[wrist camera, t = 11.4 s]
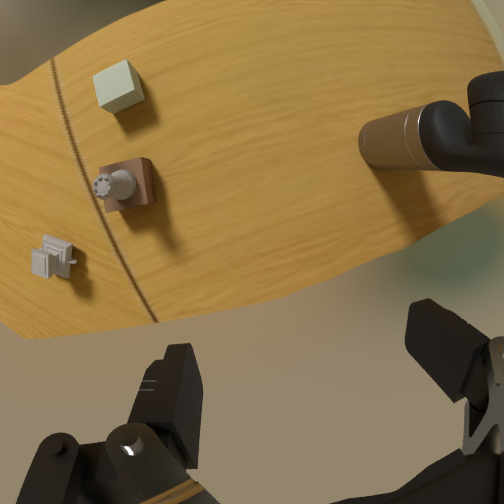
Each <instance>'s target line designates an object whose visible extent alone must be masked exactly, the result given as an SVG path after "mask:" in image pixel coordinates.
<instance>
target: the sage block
mask: <svg viewBox="0 0 504 504" xmlns="http://www.w3.org/2000/svg"><path fill="white" fill-rule="evenodd" d="M93 81H94V85H95V90H96V94H97V99H98V103H99V107H101V108H103V109H105V110H106V111H108V112H110V113H112V114H115V113H117V112H119V111H121V110H123V109H125V108H127V107H129V106H131V105H134V104H136V103H138V102H140V101H142V100H145V97H144V94H143V90H142V87H141V83H140V80H139V76H138V73H137V71H136V69H135V68H134V67H133V66H132V65H131V64H130V62H129V61H128V60H127V59H125V60H123V61H121V62H119V63H117V64H115V65H113V66H111V67H109V68H107V69H105V70H103V71H101V72H100V73H98V74H96V75H94V76H93Z"/></svg>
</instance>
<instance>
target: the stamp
mask: <svg viewBox="0 0 504 504" xmlns="http://www.w3.org/2000/svg"><path fill="white" fill-rule="evenodd" d="M72 247H73V244H72V243H70V242H67V241H64V240H61V239H59V238H56V237H53V236H50V235H48V234H45V235H44V236H43V243H42V248H40V249H32V273H33V274H36V275H39V276H42V277H45V278H48V279H49V278H50V277H52V275H53V273H54V274H56V275H59V276H61V277H64V278H67V279H68V278H69V277H70V265H71V264H76V263H77V260H75V259H73V258H71V256H72Z"/></svg>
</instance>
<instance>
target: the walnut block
mask: <svg viewBox="0 0 504 504" xmlns="http://www.w3.org/2000/svg"><path fill="white" fill-rule="evenodd" d="M99 170H100V175H101V174H103V173H105V174H109V175H111V174H112V173H113V172H115V171H118V170H127V171H129V172H131V173H132V174H133V175H134V177H135V180H136V189H135V191H134V193H133V194H132V195H131V196H130V197H129V198H127V199H125V200H116V199H115V198H113V197H110V198H108V199H104V204H105V210H106V213H108V212H112V211H117V210H122V209H126V208H131V207H136V206H141V205H146V204H150V203H153V202H156V198H155V192H154V185H153V178H152V171H151V164H150V159H147V158H143V157H139V158H135V159H131V160H127V161H123V162H119V163H115V164H111V165H107V166H104V167H100V168H99Z"/></svg>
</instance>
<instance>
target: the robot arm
mask: <svg viewBox="0 0 504 504" xmlns="http://www.w3.org/2000/svg"><path fill="white" fill-rule="evenodd" d="M467 95H468V104H469V110H470V118H471V120H470V118H469V117H468V115H467V114H466V112H465V111H464V110H463V109H462V108H461V107H460V106H458V105H457V104H455V103H453V102H451V101H445V100H442V101H437V102H433V103H430V104H426V105H422V106H419V107H416V108H412V109H409V110H405V111H402V112H398V113H395V114H392V115H389V116H385V117H382V118H379V119H376V120H373V121H370V122H368V123H366V124H365V125H364V126H363V128H362V129H361V131H360V134H359V148H360V152H361V154H362V156H363V158H364V159H365V161H366V162H367V163H368V164H369V165H371V166H372V167H374V168H376V169H380V170H424V171H451V172H473V173H481V174H486V175H492V176H497V177H502V178H504V71H497V72H491V73H486V74H482V75H480V76H477V77H475V78H474V79H472V80H471V81H470V82H469V84H468V87H467ZM405 346H406V349H407V351H408V352H409V354H410V355H411V356H412V357H413V358H414V359H415V360H416V361H417V362H418V363H419V365H420V366H421V367H422V368H423V369H424V370H425V371H426V372H427V373H428V374H429V375H430V377H431V378H432V379H433V380H434V381H435V382H436V383H437V384H438V386H439V387H440V388H441V389H442V390H443V391H444V392H445V393H446V395H447V396H448V397H449V398H450V399H451V400H452V401H453V403H455V402H457V401H458V400H460V399H462V398H464V397H466V398H467V401H466V403H465V412H464V414H465V415H464V436H463V446H462V450H460V449H457V450H455V451H454V452H452V453H450V454H449V455H447V456H445V457H444V458H442V459H440V460H438V461H436V462H435V463H433V464H431V465H429V466H428V467H427V468H425V469H424V470H423V471H422V472H421V473H419V474H418V475H417V476H416V477H415V478H413V479H412V480H411V481H409V482H408V483H406V484H405V485H404V486H403V487H401V488H400V489H398V490H396V491H394V492H390V493H385V494H379V495H373V496H366V497H358V498H349V499H345V500H342V501H339V502H334V503H331V504H504V337H503V336H501V337H495V338H493V339H492V340H491V339H489V338H488V337H487V336H485V335H484V334H483V333H481V332H480V331H478V330H477V329H476V328H475V327H473V326H472V325H470V324H467V322H466V321H465V320H464V319H461V318H460V317H459V316H458V315H456V314H455V313H453V312H452V311H450V310H447V309H444V308H443V307H441V306H440V305H439V304H437V303H436V302H434V301H433V300H431V299H429V298H428V299H424V300H420V301H417V302H413V303H412V304H411V305H410V307H409V313H408V320H407V327H406V333H405ZM202 401H203V385H202V379H201V376H200V372H199V369H198V365H197V362H196V358H195V355H194V351H193V348H192V345H191V344H190V343H185V344H172V345H168V347H167V349H166V353H165V356H164V359H163V360H155V361H154V362H153V363H152V364H151V365H150V366H149V367H148V368H147V369H146V372H145V374H144V377H143V382H142V383H141V385H140V388H139V391H138V394H137V396H136V399H135V402H134V405H133V407H132V410H131V413H130V416H129V419H128V422H127V424H123V425H121V426H119V427H117V428H116V429H114V430H113V431H112V432H111V433H110V434H109V435H108V437H107V439H106V441H104V442H98V443H91V444H82V445H80V444H79V443H78V442H77V441H76V440H75V438H74V437H73V436H71V435H70V434H67V433H55V434H52V435H50V436H48V437H46V438H45V439H44V440H43V441H42V442H41V444H40V445H39V448H38V450H37V452H36V454H35V456H34V459H33V461H32V463H31V466H30V468H29V470H28V473H27V475H26V478H25V480H24V483H23V485H22V488H21V491H20V494H19V496H18V499H17V502H16V504H220V503H219V502H218V501H217V500H216V499H215V498H214V497H213V496H212V495H211V494H210V493H209V492H208V491H207V490H206V489H205V488H204V487H203V486H202V485H201V484H200V483H198V482H195V481H194V480H193V479H192V478H191V477H190V475H189V474H188V473H187V472H186V469H197V467H198V452H199V438H200V425H201V413H202V412H201V411H202Z"/></svg>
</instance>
